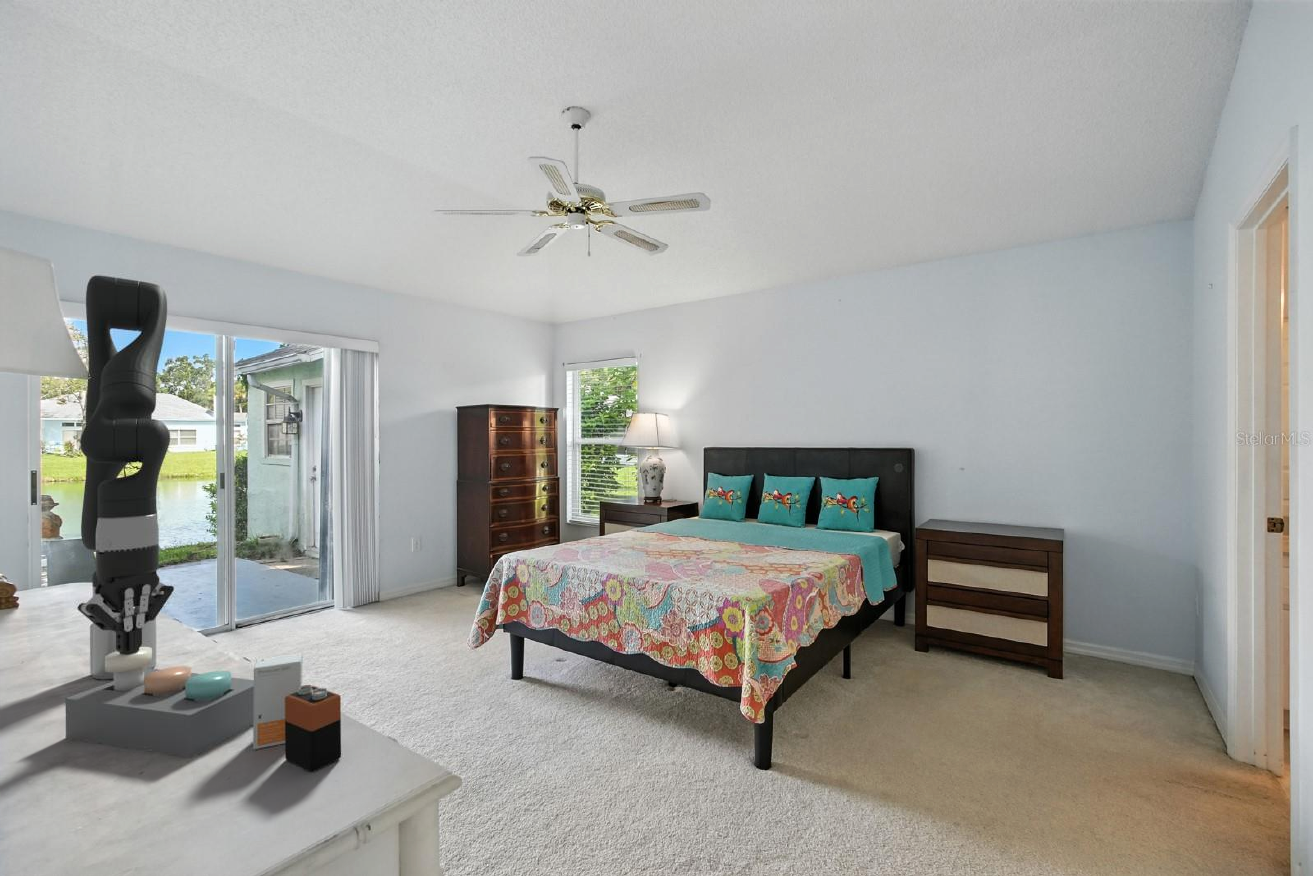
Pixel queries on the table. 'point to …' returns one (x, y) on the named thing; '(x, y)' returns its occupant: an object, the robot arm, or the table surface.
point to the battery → (312, 727)
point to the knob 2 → (208, 685)
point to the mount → (159, 718)
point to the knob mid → (166, 681)
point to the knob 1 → (128, 668)
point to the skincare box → (273, 696)
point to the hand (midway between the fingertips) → (129, 652)
